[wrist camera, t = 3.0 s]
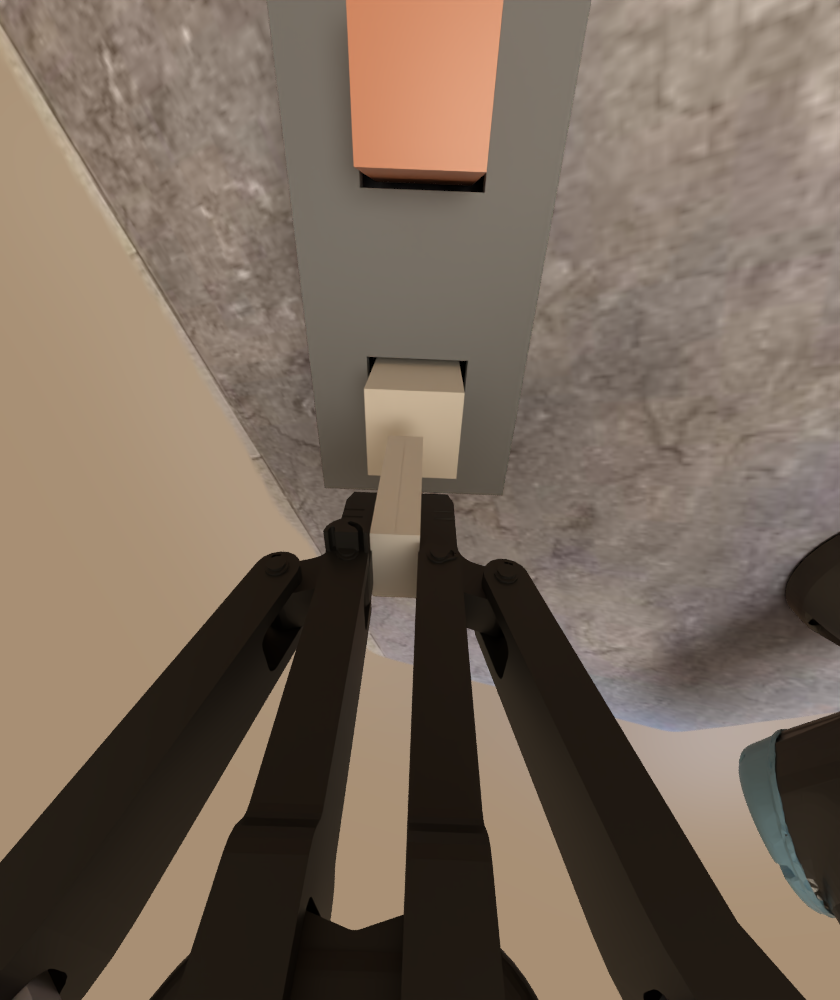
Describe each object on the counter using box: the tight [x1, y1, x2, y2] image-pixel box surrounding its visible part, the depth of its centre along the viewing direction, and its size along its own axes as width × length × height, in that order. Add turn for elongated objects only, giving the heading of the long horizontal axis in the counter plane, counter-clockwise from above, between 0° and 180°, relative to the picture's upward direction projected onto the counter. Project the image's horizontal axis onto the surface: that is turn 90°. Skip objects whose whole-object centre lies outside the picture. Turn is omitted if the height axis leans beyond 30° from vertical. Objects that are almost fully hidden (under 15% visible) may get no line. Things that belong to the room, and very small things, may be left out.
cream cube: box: [364, 357, 465, 479], centre depth 24 cm, size 5×5×7 cm
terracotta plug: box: [346, 0, 503, 186], centre depth 16 cm, size 5×5×7 cm
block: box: [267, 0, 591, 495], centre depth 24 cm, size 25×12×8 cm, turn 178°
